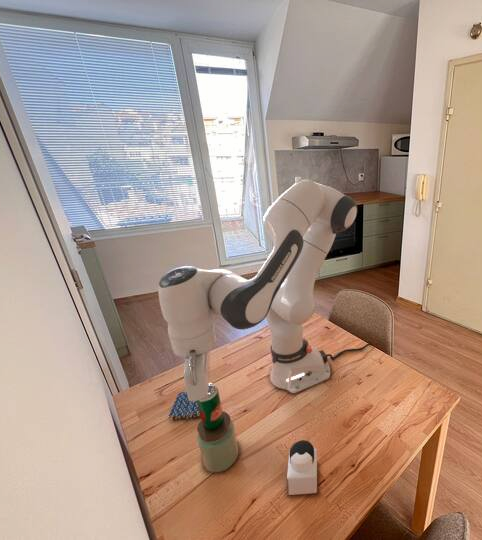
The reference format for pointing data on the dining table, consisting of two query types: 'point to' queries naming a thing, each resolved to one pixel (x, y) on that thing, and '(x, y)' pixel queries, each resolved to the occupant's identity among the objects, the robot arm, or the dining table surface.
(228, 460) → the jar
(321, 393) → the dining table surface
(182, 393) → the woven mat
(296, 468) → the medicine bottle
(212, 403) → the soda can
